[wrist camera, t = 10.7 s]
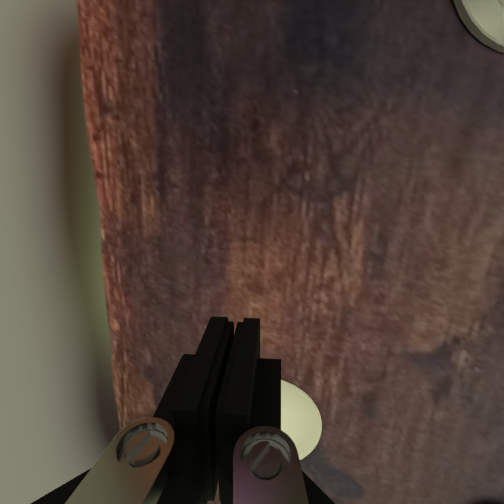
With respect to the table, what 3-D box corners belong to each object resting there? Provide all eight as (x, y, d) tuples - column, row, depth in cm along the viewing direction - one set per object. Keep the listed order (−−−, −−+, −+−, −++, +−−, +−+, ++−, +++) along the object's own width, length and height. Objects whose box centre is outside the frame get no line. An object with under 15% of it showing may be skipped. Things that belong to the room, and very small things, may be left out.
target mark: (201, 371, 32) (200, 372, 32) (325, 379, 31) (326, 380, 31) (207, 461, 36) (206, 462, 36) (317, 470, 35) (317, 472, 35)
